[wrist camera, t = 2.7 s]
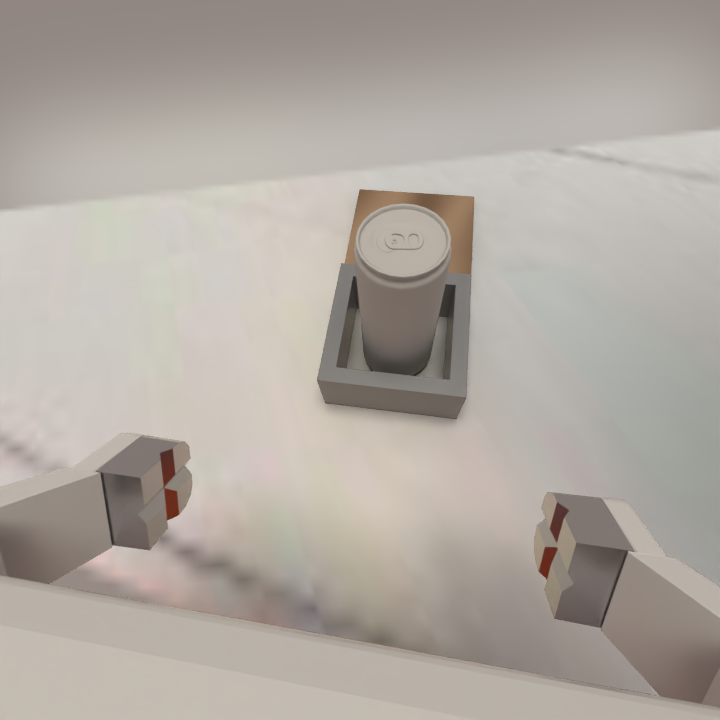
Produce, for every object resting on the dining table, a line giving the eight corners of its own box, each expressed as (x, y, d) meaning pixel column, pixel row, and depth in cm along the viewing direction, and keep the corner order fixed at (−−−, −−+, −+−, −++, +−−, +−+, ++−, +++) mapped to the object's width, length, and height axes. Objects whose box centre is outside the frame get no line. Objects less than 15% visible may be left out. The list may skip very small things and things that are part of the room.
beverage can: (365, 323, 32) (355, 201, 21) (429, 324, 32) (451, 200, 21) (362, 382, 30) (349, 279, 19) (430, 384, 30) (456, 279, 19)
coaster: (472, 202, 37) (474, 196, 36) (468, 296, 33) (470, 292, 32) (360, 194, 38) (359, 189, 38) (341, 285, 34) (341, 280, 33)
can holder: (461, 306, 32) (471, 274, 29) (456, 418, 28) (466, 397, 25) (346, 296, 33) (341, 263, 30) (325, 402, 29) (317, 380, 26)
